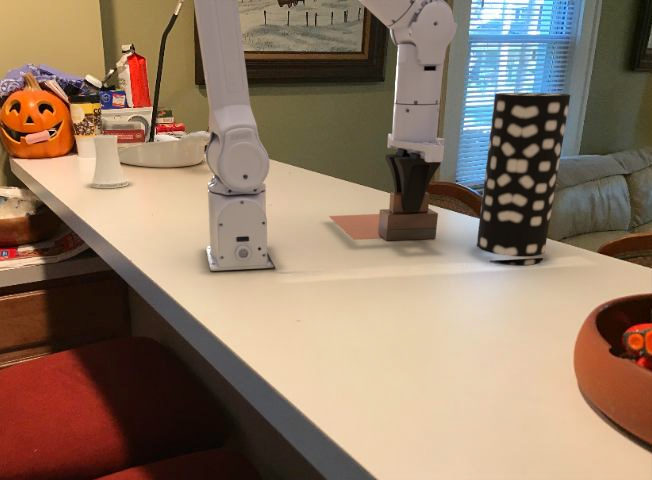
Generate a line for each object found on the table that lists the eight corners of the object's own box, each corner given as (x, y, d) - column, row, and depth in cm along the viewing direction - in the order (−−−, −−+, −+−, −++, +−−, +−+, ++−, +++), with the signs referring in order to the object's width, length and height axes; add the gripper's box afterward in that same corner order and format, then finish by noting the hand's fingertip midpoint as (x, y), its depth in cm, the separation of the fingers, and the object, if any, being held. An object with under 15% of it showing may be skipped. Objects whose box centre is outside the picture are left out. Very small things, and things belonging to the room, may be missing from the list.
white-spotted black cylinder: (500, 267, 75) (524, 96, 67) (463, 249, 82) (481, 93, 75) (557, 262, 77) (587, 95, 69) (516, 244, 84) (538, 92, 77)
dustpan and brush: (190, 154, 170) (189, 119, 167) (254, 170, 145) (254, 129, 142) (111, 161, 158) (108, 124, 155) (166, 180, 133) (163, 135, 129)
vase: (85, 184, 128) (79, 135, 124) (118, 180, 132) (113, 133, 129) (101, 189, 122) (95, 138, 119) (134, 185, 127) (130, 136, 123)
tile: (422, 244, 84) (423, 236, 84) (353, 247, 83) (353, 239, 83) (388, 220, 97) (389, 213, 97) (328, 223, 96) (328, 215, 95)
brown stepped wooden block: (386, 240, 82) (389, 196, 79) (377, 234, 85) (380, 191, 83) (435, 238, 83) (440, 194, 80) (425, 232, 86) (429, 189, 84)
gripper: (472, 106, 71) (460, 220, 76) (424, 100, 85) (416, 197, 90) (415, 107, 70) (406, 222, 75) (375, 101, 84) (370, 198, 88)
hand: (408, 208), depth 82 cm, fingers closed on brown stepped wooden block
